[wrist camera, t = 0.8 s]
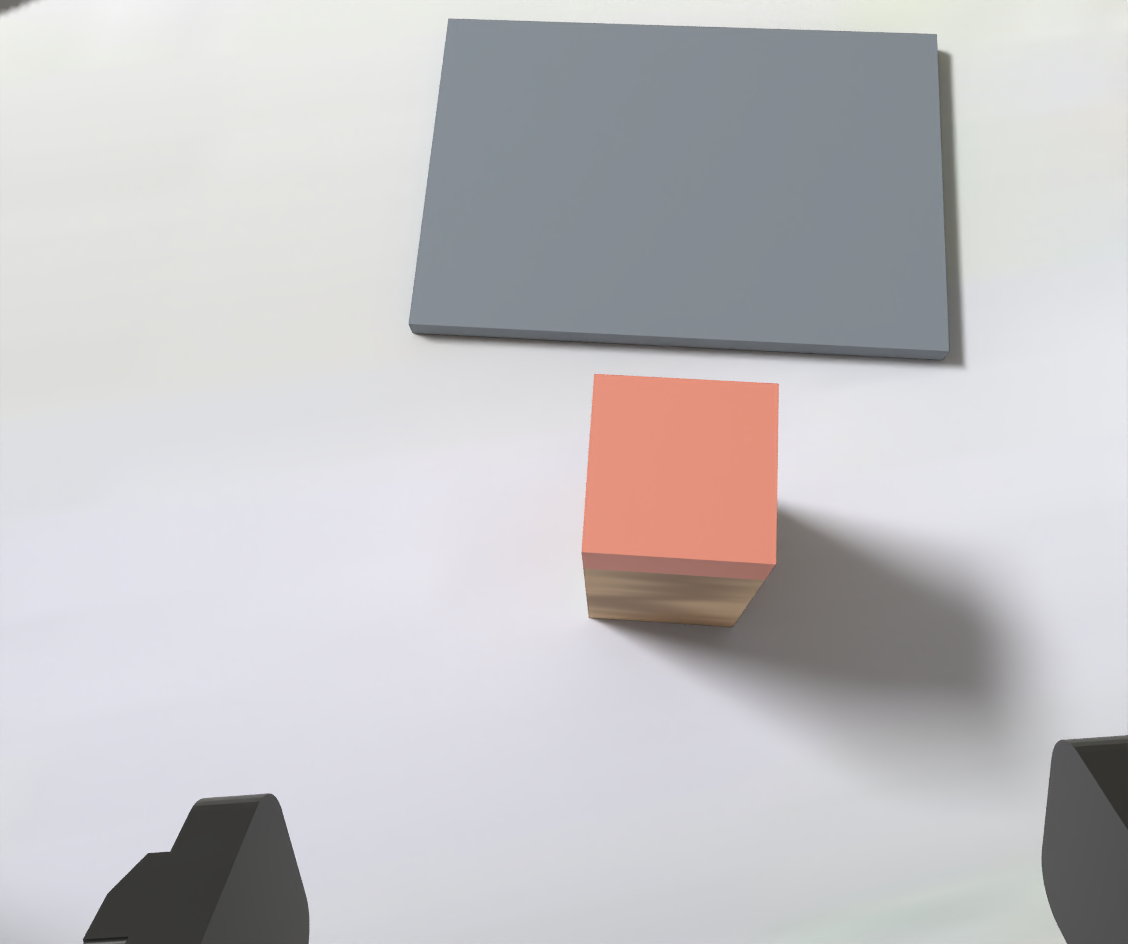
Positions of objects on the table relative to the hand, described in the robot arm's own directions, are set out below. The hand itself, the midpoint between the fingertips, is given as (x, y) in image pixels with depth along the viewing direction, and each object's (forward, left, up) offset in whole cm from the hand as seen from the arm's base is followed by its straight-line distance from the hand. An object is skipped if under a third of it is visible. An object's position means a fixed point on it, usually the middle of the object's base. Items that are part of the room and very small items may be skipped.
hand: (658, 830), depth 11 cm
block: (+1, +9, -25) cm, 26 cm away
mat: (+1, +24, -25) cm, 34 cm away
